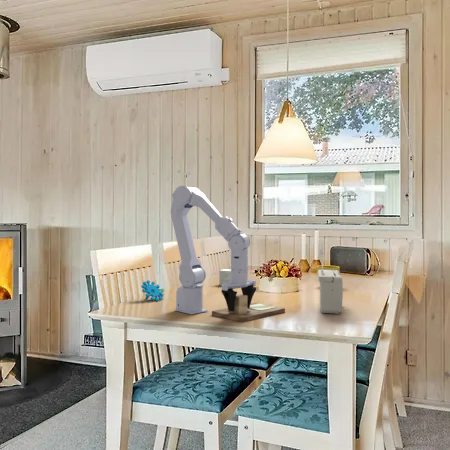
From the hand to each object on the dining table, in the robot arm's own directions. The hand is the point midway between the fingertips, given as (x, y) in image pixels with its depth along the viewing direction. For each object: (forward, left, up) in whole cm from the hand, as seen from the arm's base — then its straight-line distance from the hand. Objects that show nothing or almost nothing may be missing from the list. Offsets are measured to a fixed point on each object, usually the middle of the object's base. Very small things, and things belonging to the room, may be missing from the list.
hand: (239, 309), depth 165 cm
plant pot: (-14, +74, -2) cm, 75 cm away
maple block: (0, 0, -2) cm, 2 cm away
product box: (-50, +44, -2) cm, 67 cm away
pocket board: (0, +5, -2) cm, 5 cm away
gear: (-43, -4, -2) cm, 43 cm away
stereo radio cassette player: (+14, +33, -2) cm, 36 cm away
